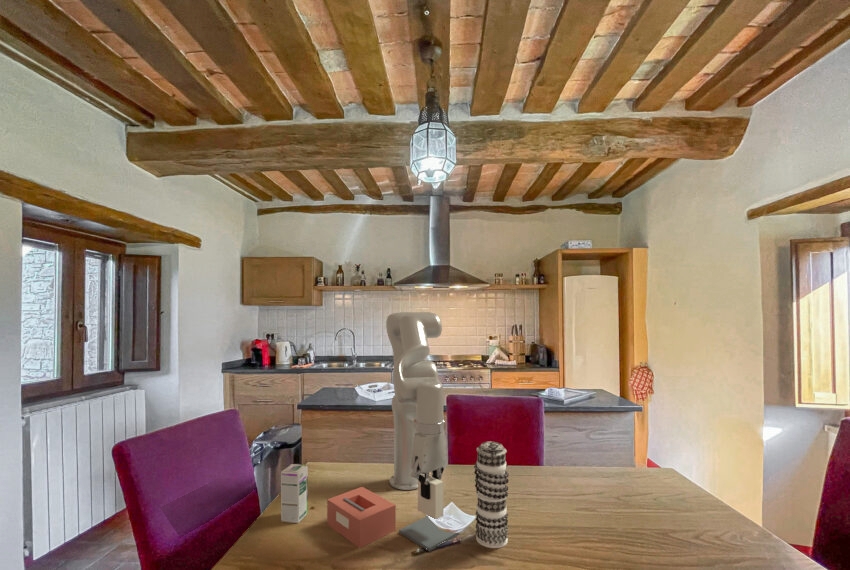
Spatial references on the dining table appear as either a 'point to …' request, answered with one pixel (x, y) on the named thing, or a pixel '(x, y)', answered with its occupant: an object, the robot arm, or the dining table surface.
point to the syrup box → (294, 493)
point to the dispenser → (361, 516)
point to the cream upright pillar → (432, 499)
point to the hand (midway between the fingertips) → (430, 495)
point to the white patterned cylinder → (491, 495)
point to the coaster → (426, 533)
